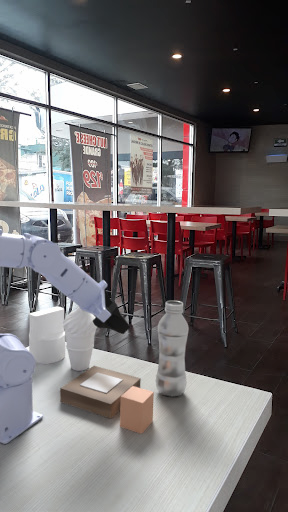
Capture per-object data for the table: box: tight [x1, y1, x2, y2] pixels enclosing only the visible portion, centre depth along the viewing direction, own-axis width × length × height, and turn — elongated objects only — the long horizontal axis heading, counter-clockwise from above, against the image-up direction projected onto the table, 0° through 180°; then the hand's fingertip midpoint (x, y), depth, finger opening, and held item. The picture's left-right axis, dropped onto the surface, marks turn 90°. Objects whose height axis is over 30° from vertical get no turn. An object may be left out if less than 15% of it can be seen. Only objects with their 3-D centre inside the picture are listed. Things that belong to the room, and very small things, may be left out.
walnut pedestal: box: [59, 365, 142, 419], centre depth 83 cm, size 12×12×3 cm
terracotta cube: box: [119, 386, 155, 435], centre depth 74 cm, size 4×4×6 cm
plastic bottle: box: [155, 300, 189, 398], centre depth 84 cm, size 6×7×20 cm
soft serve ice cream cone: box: [63, 305, 98, 372], centre depth 95 cm, size 8×8×16 cm
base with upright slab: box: [28, 306, 66, 364], centre depth 101 cm, size 9×9×12 cm
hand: (120, 320), depth 83 cm, fingers open, 7 cm apart
